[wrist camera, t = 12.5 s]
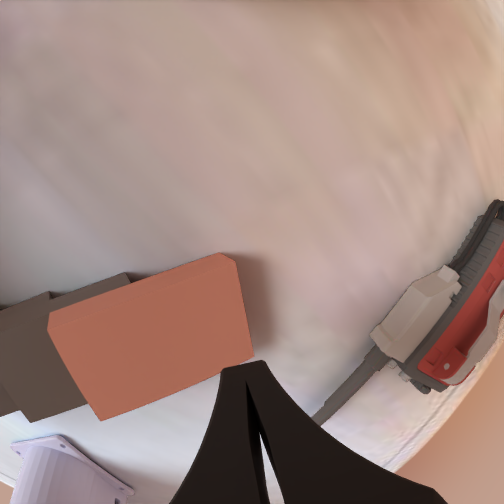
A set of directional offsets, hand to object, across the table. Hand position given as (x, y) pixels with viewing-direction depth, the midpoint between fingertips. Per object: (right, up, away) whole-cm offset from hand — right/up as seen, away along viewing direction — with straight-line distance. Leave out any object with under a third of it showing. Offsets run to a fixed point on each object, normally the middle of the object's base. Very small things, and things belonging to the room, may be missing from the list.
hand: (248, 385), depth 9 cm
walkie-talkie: (+12, -1, +9) cm, 15 cm away
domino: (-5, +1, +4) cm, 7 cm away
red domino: (-1, +2, +5) cm, 5 cm away
